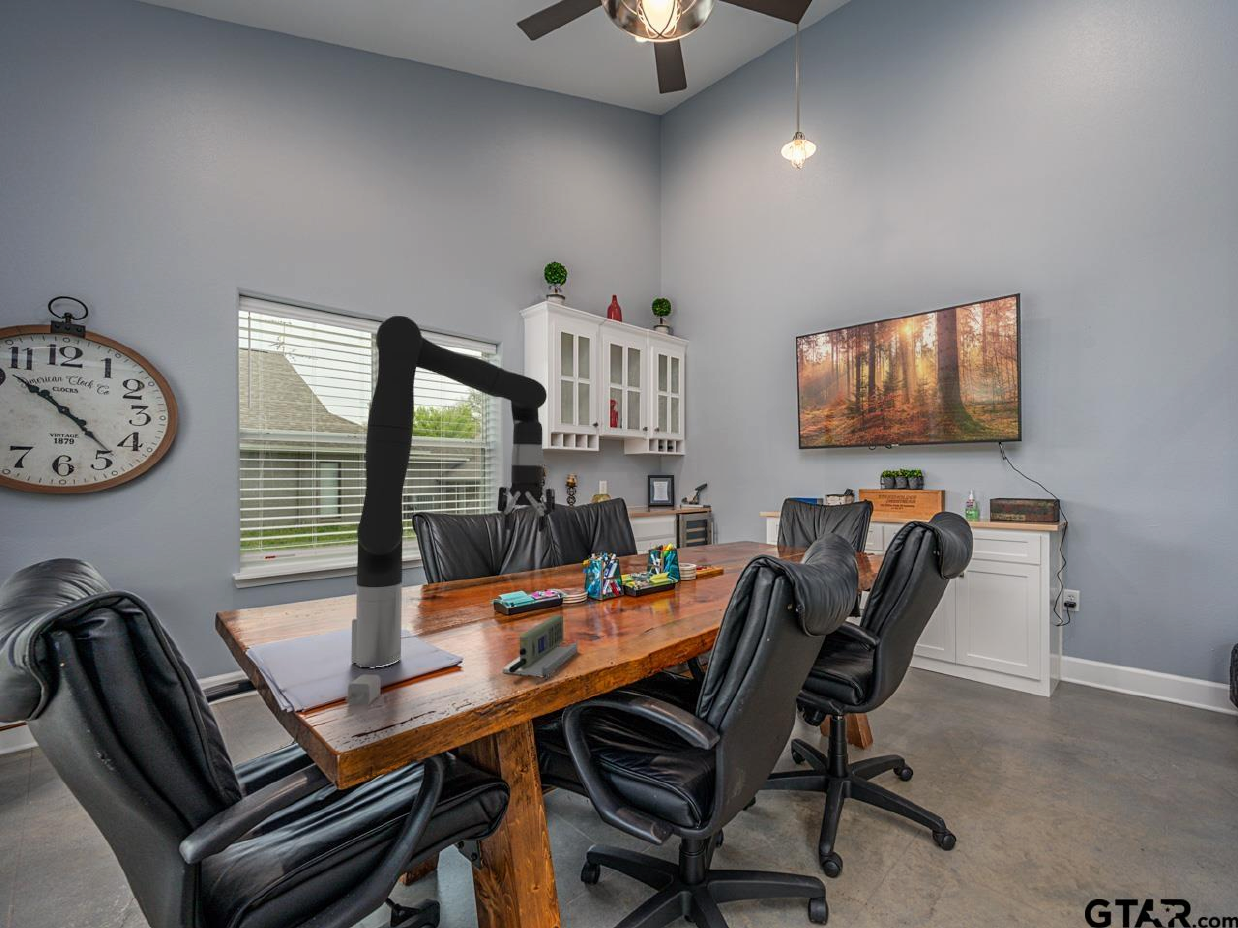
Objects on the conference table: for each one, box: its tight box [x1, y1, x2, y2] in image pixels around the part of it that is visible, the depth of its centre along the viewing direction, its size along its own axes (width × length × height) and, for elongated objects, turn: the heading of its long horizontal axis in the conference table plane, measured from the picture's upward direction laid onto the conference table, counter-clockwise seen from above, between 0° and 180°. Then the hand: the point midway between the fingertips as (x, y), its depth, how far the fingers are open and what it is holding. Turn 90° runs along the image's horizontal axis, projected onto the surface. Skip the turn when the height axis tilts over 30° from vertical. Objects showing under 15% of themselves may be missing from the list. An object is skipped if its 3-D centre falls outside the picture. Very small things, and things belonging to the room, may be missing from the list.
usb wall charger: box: [345, 674, 382, 707], centre depth 106 cm, size 4×7×4 cm, turn 178°
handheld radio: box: [509, 614, 565, 674], centre depth 131 cm, size 7×3×25 cm
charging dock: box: [502, 642, 579, 678], centre depth 130 cm, size 10×18×2 cm, turn 164°
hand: (525, 530), depth 142 cm, fingers open, 8 cm apart
